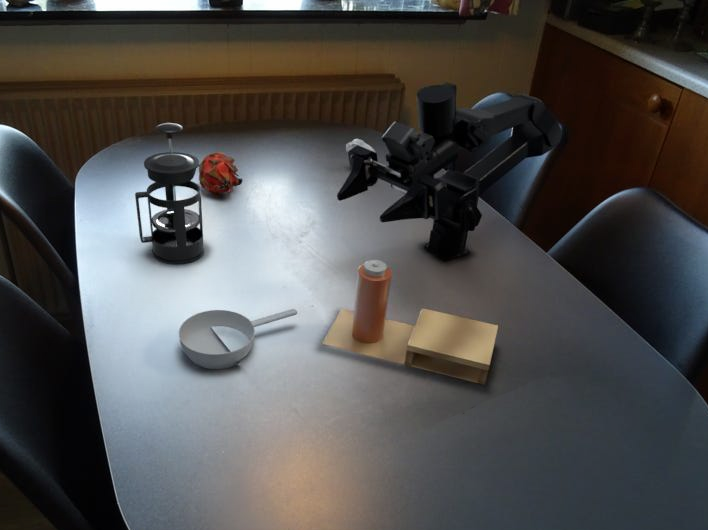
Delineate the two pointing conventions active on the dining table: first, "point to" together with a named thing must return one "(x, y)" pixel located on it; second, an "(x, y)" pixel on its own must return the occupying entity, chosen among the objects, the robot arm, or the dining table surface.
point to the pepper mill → (371, 301)
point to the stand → (426, 343)
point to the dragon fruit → (218, 174)
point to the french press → (173, 205)
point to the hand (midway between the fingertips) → (358, 208)
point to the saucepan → (207, 344)
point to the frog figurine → (358, 142)
